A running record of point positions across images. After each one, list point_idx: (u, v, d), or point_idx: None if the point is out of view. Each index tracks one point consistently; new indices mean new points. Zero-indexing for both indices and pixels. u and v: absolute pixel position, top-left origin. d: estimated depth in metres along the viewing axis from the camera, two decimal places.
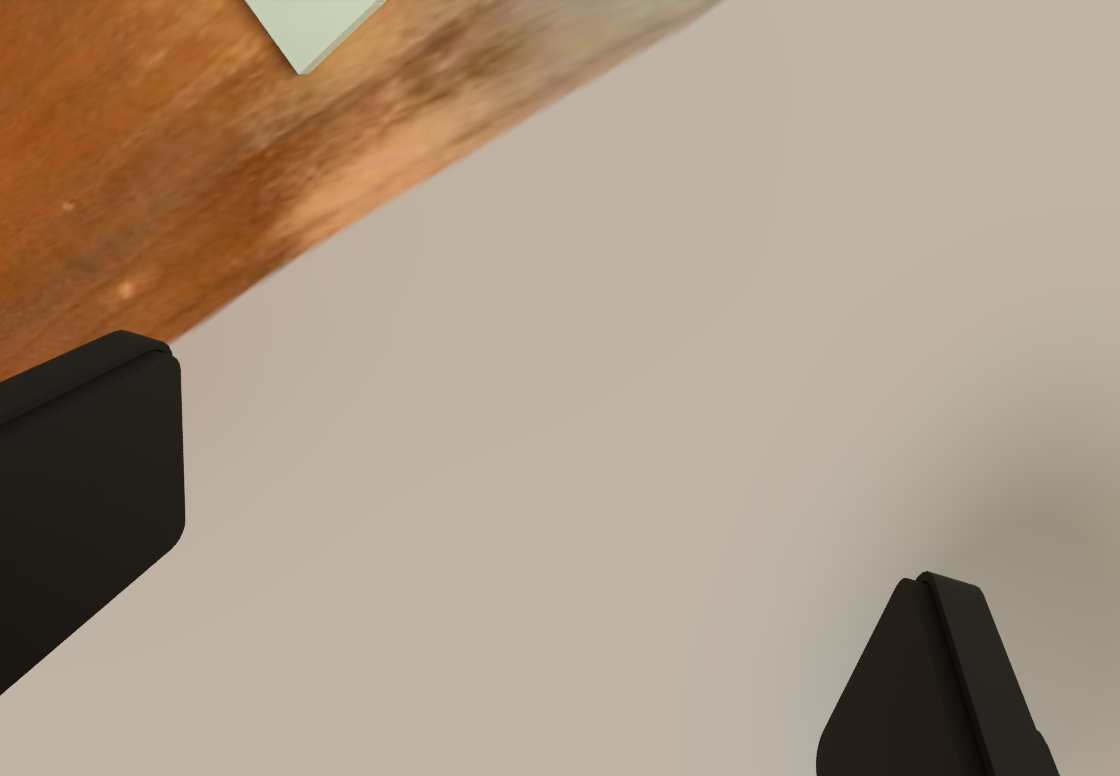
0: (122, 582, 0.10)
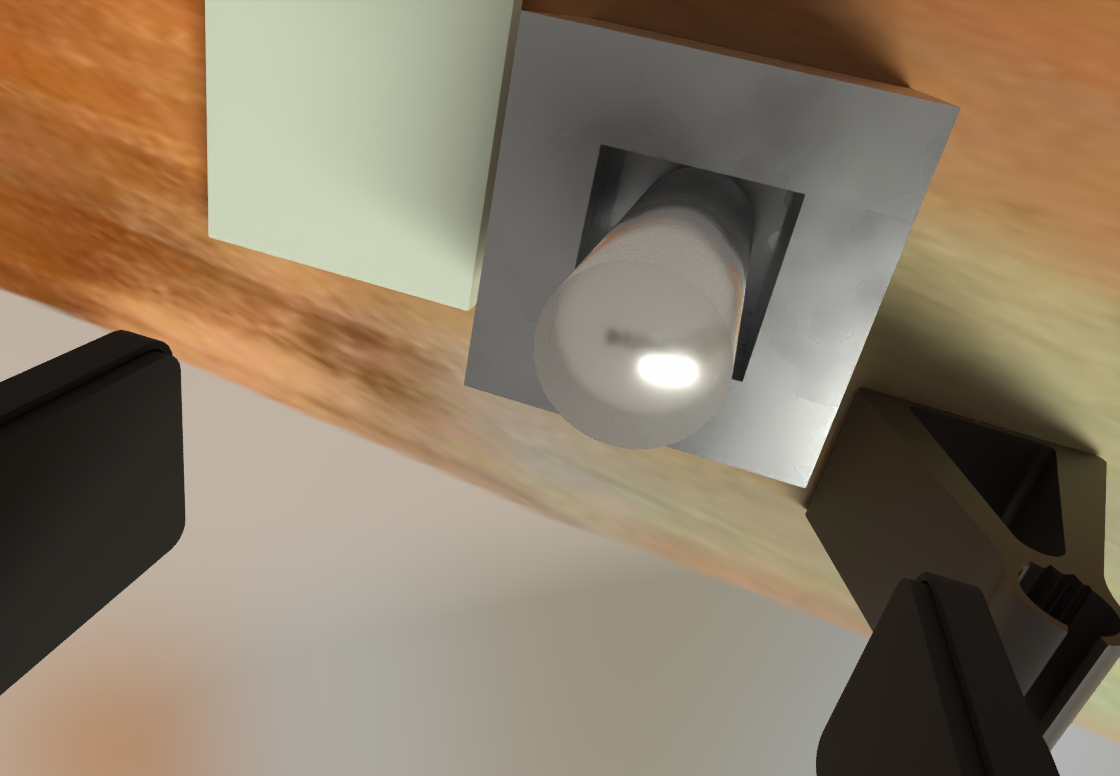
0: (122, 582, 0.10)
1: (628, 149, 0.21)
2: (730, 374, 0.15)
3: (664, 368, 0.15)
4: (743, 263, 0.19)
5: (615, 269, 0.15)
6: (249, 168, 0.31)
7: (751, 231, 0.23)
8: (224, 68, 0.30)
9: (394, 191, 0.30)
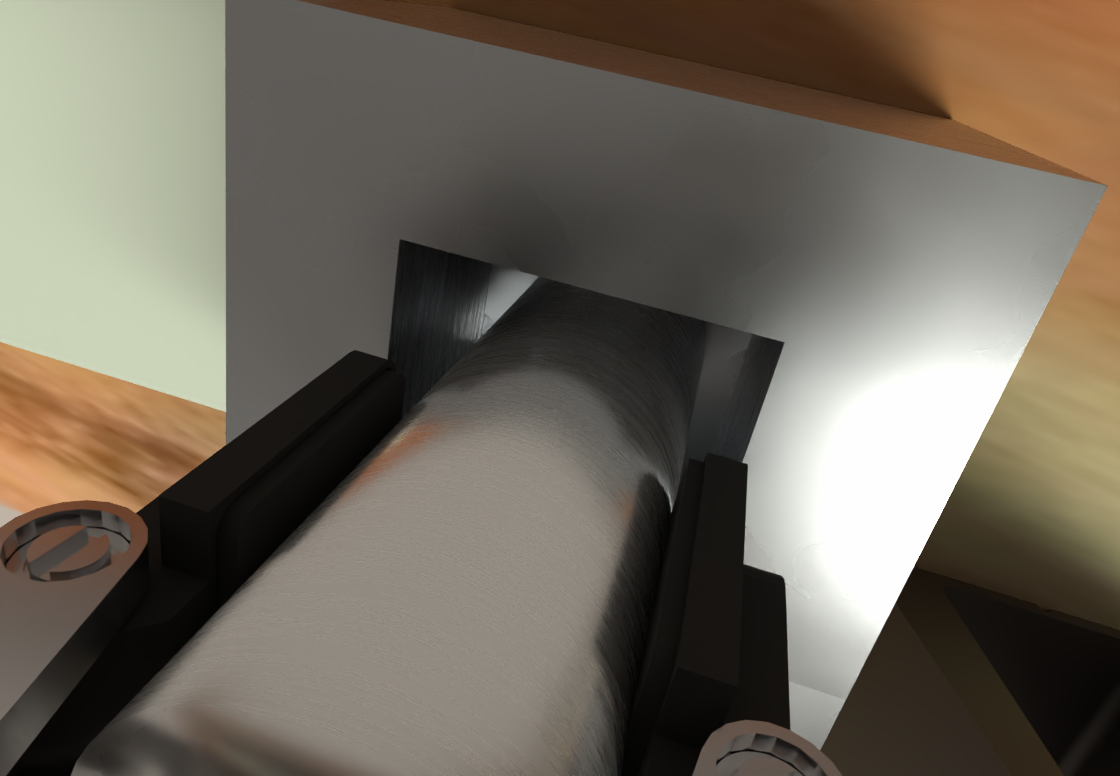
0: None
1: (450, 250, 0.11)
2: None
3: None
4: (662, 488, 0.10)
5: (219, 726, 0.05)
6: None
7: (695, 366, 0.14)
8: None
9: (181, 266, 0.20)
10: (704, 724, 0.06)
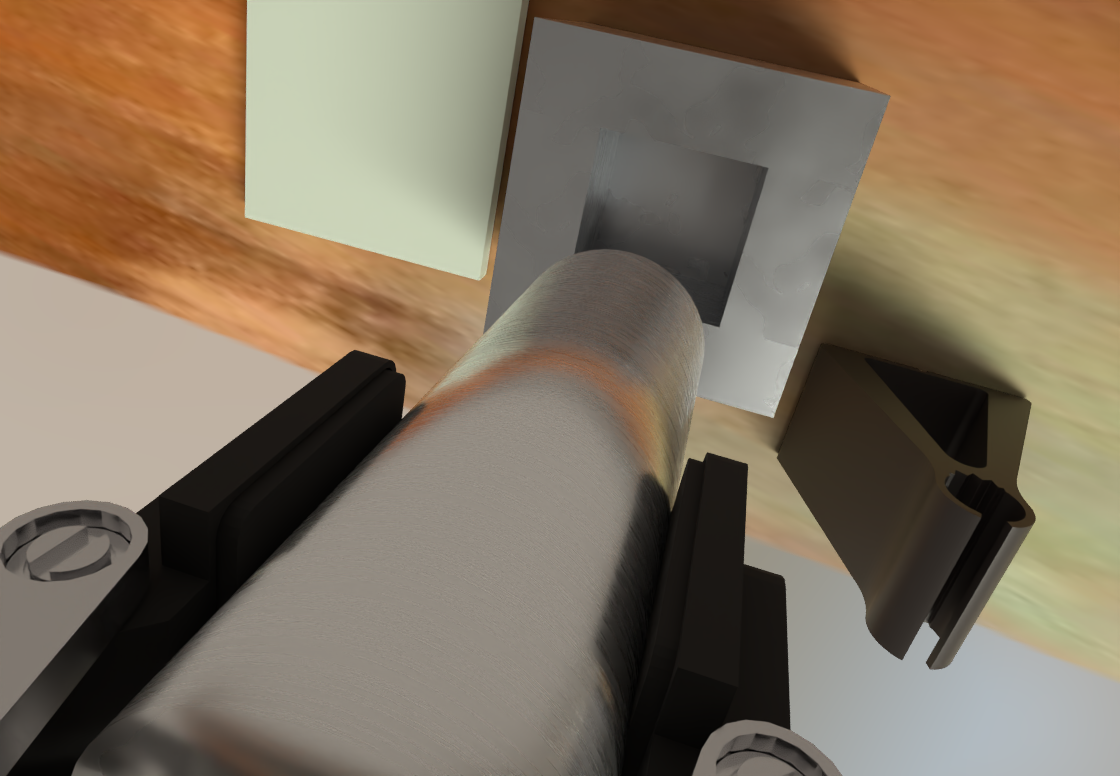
0: None
1: (623, 132, 0.25)
2: None
3: None
4: (662, 487, 0.10)
5: (221, 727, 0.05)
6: (283, 154, 0.35)
7: (694, 367, 0.14)
8: (263, 66, 0.34)
9: (414, 174, 0.34)
10: (704, 724, 0.06)
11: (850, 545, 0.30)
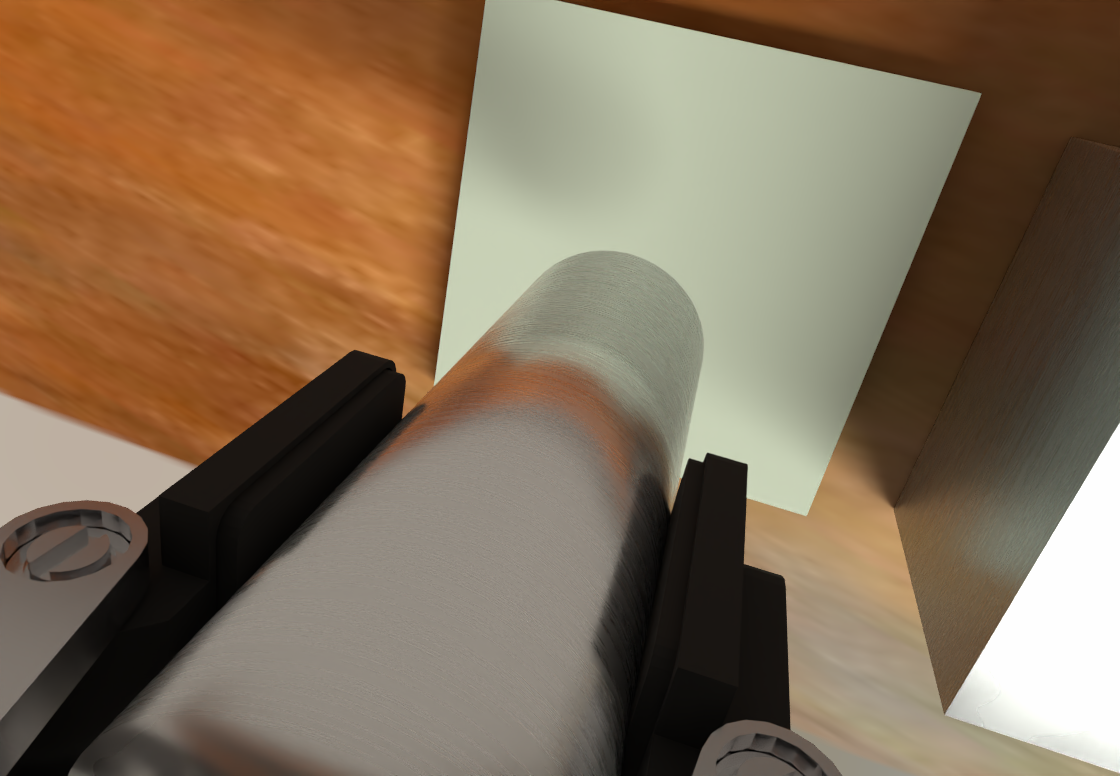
0: None
1: None
2: None
3: None
4: (661, 491, 0.10)
5: (214, 735, 0.05)
6: None
7: (694, 368, 0.14)
8: (488, 190, 0.21)
9: (724, 361, 0.22)
10: (704, 724, 0.06)
11: None
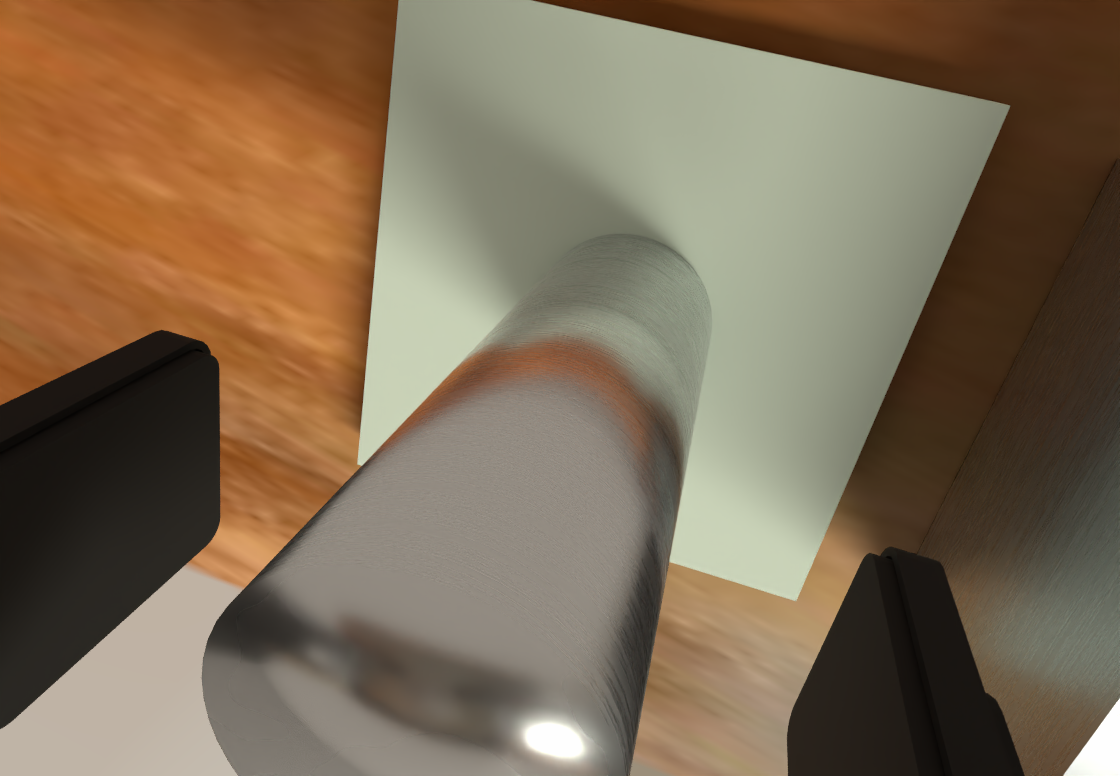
0: (161, 577, 0.10)
1: None
2: None
3: None
4: (679, 434, 0.11)
5: (343, 580, 0.06)
6: (438, 372, 0.19)
7: (704, 339, 0.15)
8: (412, 220, 0.18)
9: (696, 422, 0.18)
10: None
11: None
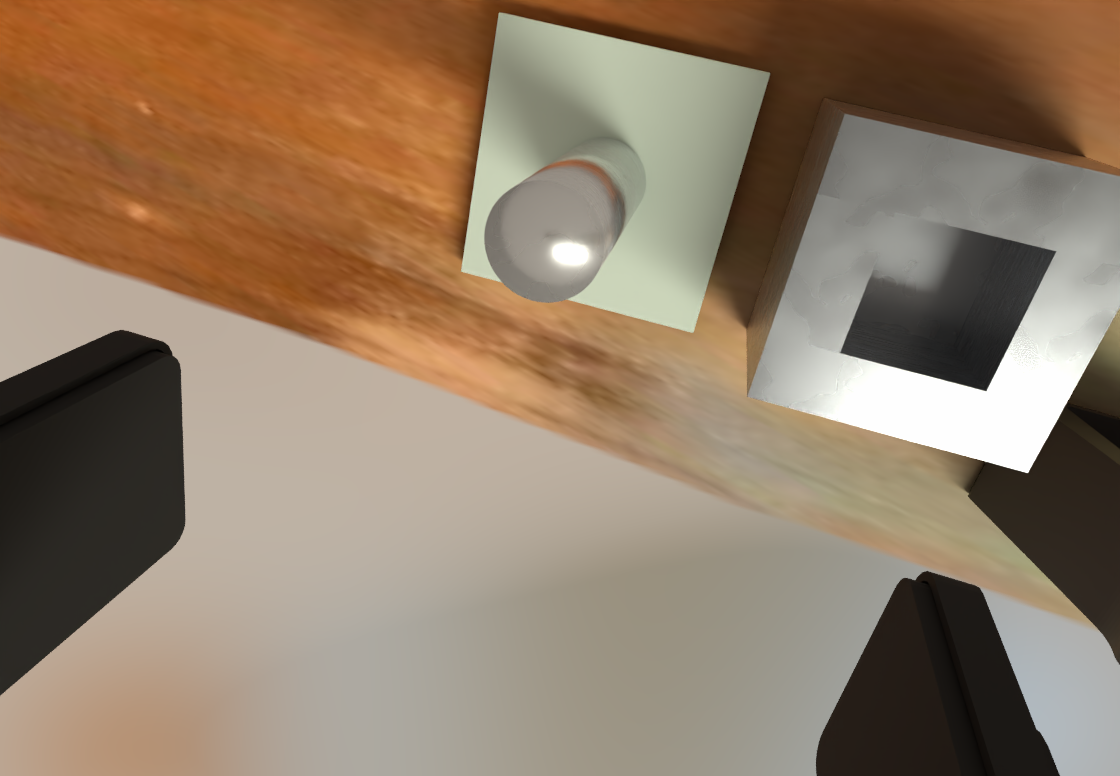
0: (122, 582, 0.10)
1: (917, 216, 0.27)
2: (603, 249, 0.25)
3: (564, 248, 0.25)
4: (624, 194, 0.29)
5: (532, 185, 0.24)
6: None
7: (640, 180, 0.33)
8: (498, 133, 0.36)
9: (640, 234, 0.36)
10: None
11: (1080, 586, 0.32)
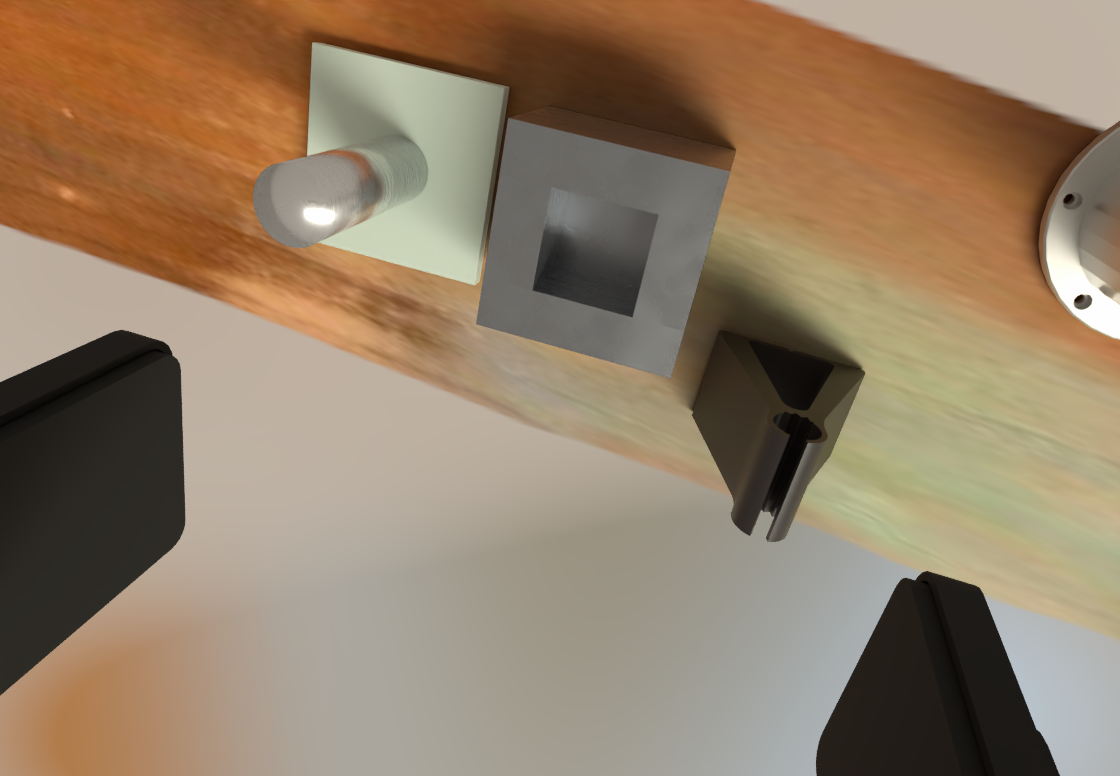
0: (122, 582, 0.10)
1: (566, 190, 0.38)
2: (328, 210, 0.36)
3: (304, 209, 0.37)
4: (377, 175, 0.41)
5: (278, 167, 0.36)
6: None
7: (413, 167, 0.45)
8: (320, 132, 0.48)
9: (428, 209, 0.48)
10: None
11: (728, 468, 0.43)
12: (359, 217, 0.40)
